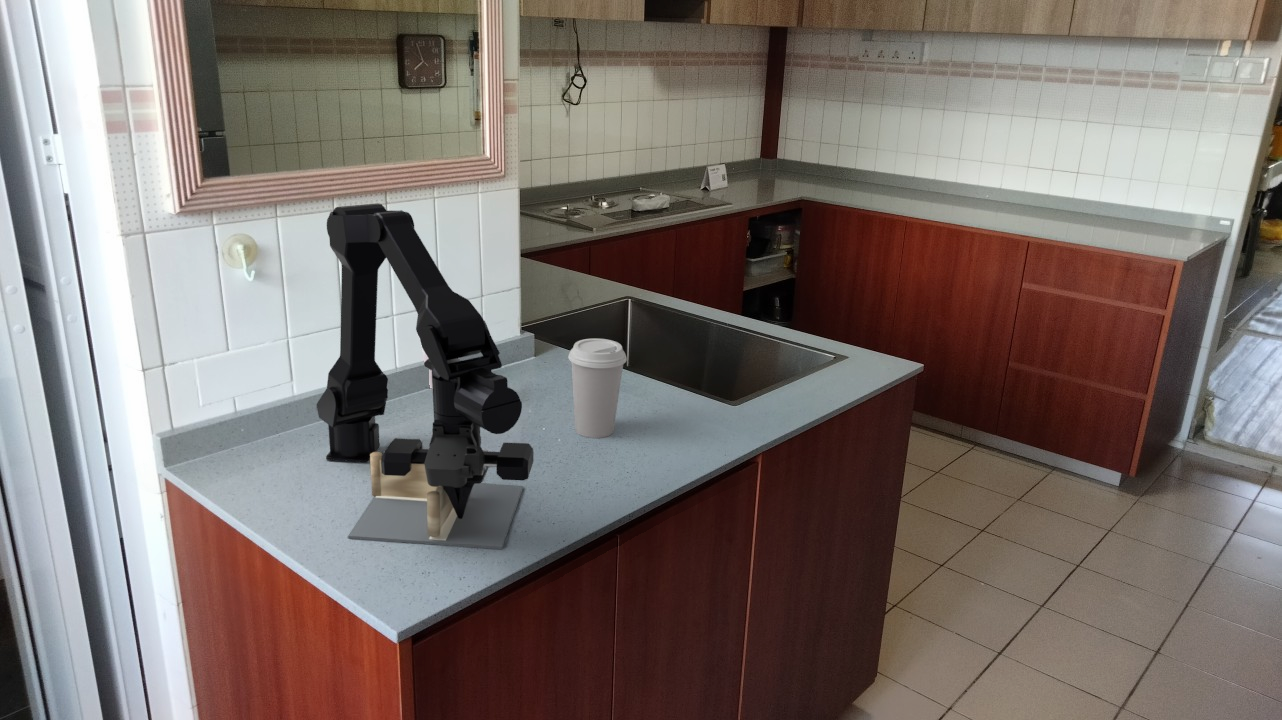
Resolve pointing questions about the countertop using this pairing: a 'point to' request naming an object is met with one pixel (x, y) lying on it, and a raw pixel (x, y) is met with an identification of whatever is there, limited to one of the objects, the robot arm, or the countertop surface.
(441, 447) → the robot arm
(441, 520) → the fence gate
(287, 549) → the countertop surface
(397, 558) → the countertop surface
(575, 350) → the coffee cup
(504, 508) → the mat
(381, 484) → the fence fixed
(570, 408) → the countertop surface
